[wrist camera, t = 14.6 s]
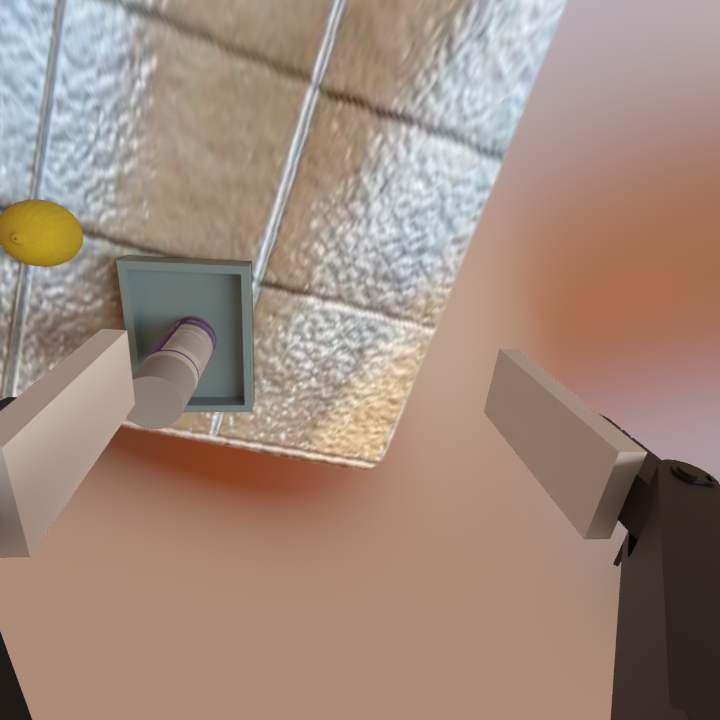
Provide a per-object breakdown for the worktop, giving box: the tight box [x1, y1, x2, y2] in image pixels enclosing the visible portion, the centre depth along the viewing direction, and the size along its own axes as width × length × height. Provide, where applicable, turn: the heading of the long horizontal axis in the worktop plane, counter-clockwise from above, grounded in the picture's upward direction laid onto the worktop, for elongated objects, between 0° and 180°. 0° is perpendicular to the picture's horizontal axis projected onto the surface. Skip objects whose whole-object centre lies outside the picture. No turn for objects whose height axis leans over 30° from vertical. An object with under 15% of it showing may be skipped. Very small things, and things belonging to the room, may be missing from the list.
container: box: [127, 316, 217, 429], centre depth 39 cm, size 5×5×15 cm
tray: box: [116, 255, 255, 412], centre depth 45 cm, size 16×12×3 cm
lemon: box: [0, 200, 83, 267], centre depth 37 cm, size 6×6×8 cm
